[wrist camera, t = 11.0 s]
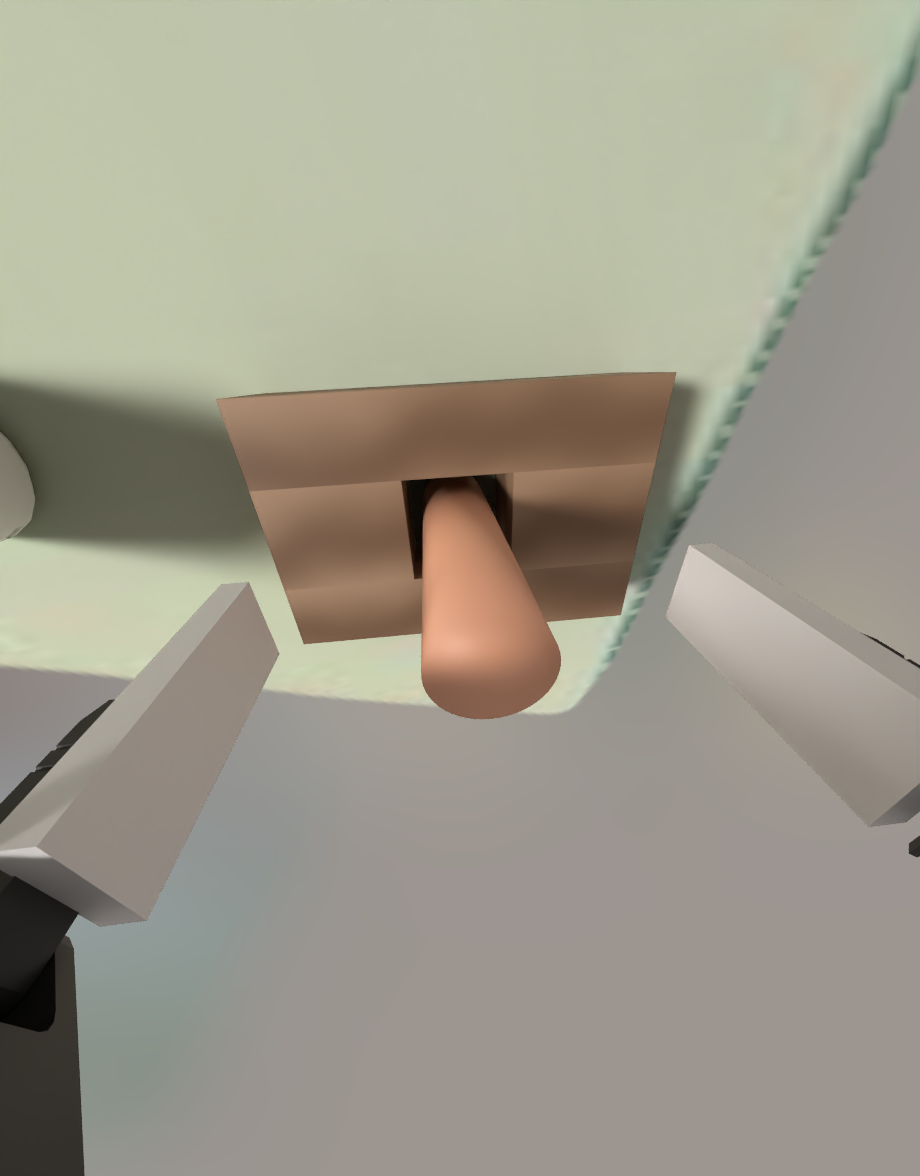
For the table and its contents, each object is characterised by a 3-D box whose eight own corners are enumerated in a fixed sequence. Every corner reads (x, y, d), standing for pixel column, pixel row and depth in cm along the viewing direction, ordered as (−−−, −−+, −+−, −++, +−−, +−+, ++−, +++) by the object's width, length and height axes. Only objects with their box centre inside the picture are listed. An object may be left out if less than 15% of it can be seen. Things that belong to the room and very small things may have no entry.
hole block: (262, 393, 17) (215, 399, 13) (622, 372, 18) (676, 372, 14) (323, 599, 23) (304, 644, 20) (589, 577, 24) (620, 615, 21)
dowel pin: (420, 472, 20) (413, 622, 8) (482, 468, 20) (568, 608, 8) (426, 530, 22) (428, 725, 10) (483, 526, 22) (553, 712, 10)
